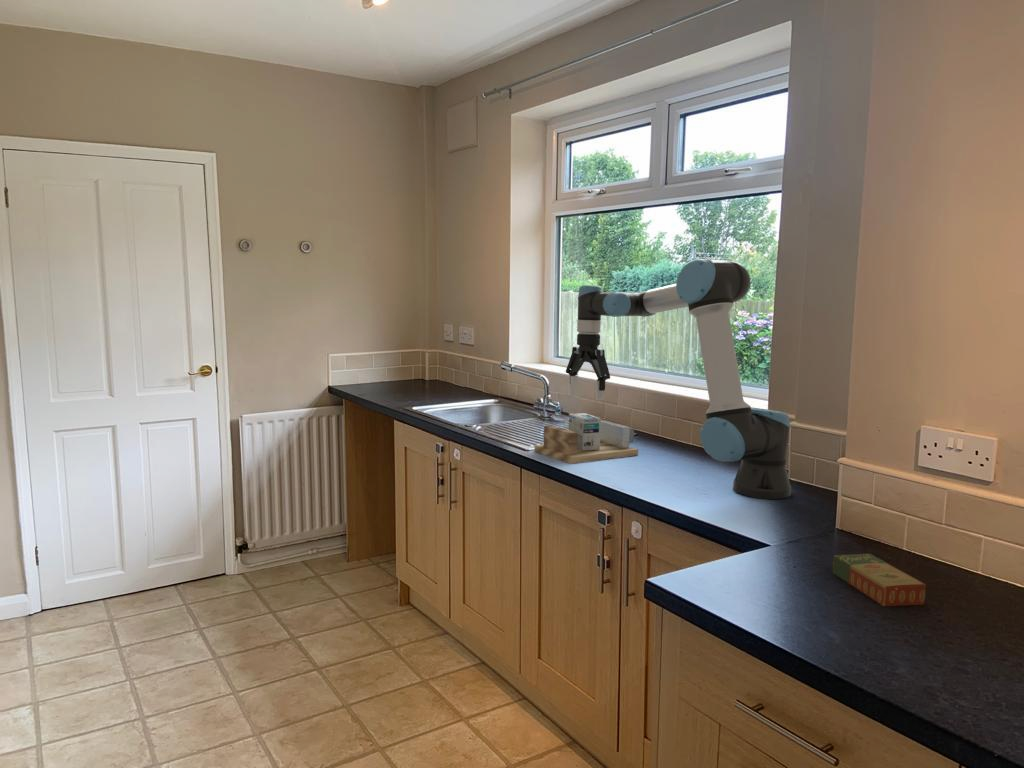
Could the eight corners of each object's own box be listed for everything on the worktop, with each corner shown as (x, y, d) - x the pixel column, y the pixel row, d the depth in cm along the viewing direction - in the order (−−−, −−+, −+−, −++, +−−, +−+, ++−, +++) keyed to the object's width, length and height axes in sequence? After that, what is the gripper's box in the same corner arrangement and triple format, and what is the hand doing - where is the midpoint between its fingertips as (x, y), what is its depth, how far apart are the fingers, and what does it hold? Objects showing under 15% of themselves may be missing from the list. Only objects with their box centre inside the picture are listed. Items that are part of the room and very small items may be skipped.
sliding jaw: (644, 445, 252) (645, 425, 251) (622, 448, 247) (623, 427, 246) (617, 438, 264) (618, 418, 263) (595, 440, 259) (596, 420, 258)
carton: (882, 608, 132) (884, 585, 131) (830, 574, 148) (832, 553, 147) (924, 606, 133) (927, 583, 133) (869, 572, 149) (870, 551, 148)
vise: (637, 455, 247) (639, 428, 246) (570, 463, 232) (571, 435, 231) (599, 443, 264) (600, 418, 263) (534, 451, 249) (535, 424, 248)
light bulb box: (600, 450, 244) (601, 417, 242) (582, 451, 241) (583, 418, 240) (584, 443, 254) (585, 412, 252) (566, 444, 251) (568, 413, 249)
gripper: (622, 335, 234) (620, 402, 236) (574, 331, 255) (572, 392, 257) (604, 335, 230) (602, 403, 232) (556, 331, 251) (554, 393, 253)
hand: (586, 397), depth 245 cm, fingers open, 13 cm apart
